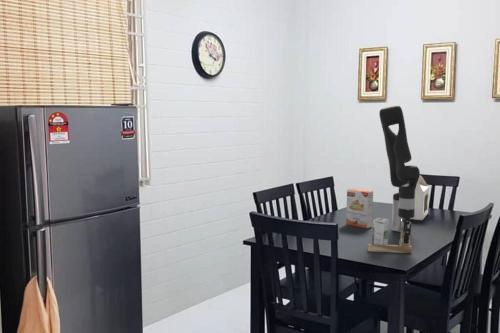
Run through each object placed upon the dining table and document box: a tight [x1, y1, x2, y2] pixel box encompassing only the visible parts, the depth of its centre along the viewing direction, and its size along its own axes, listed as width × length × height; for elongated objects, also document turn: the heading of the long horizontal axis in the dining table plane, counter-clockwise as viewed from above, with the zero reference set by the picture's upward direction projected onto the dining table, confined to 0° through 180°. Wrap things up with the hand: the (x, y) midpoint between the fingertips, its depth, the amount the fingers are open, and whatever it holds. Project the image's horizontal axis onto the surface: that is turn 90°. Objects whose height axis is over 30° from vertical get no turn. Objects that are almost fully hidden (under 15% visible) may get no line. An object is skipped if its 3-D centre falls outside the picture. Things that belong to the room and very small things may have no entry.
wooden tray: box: [367, 231, 413, 254], centre depth 243 cm, size 16×20×8 cm
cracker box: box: [345, 188, 374, 230], centre depth 287 cm, size 14×6×21 cm, turn 45°
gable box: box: [410, 174, 430, 221], centre depth 314 cm, size 22×13×28 cm, turn 153°
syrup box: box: [371, 217, 390, 245], centre depth 241 cm, size 6×6×14 cm
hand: (405, 241), depth 242 cm, fingers open, 4 cm apart
